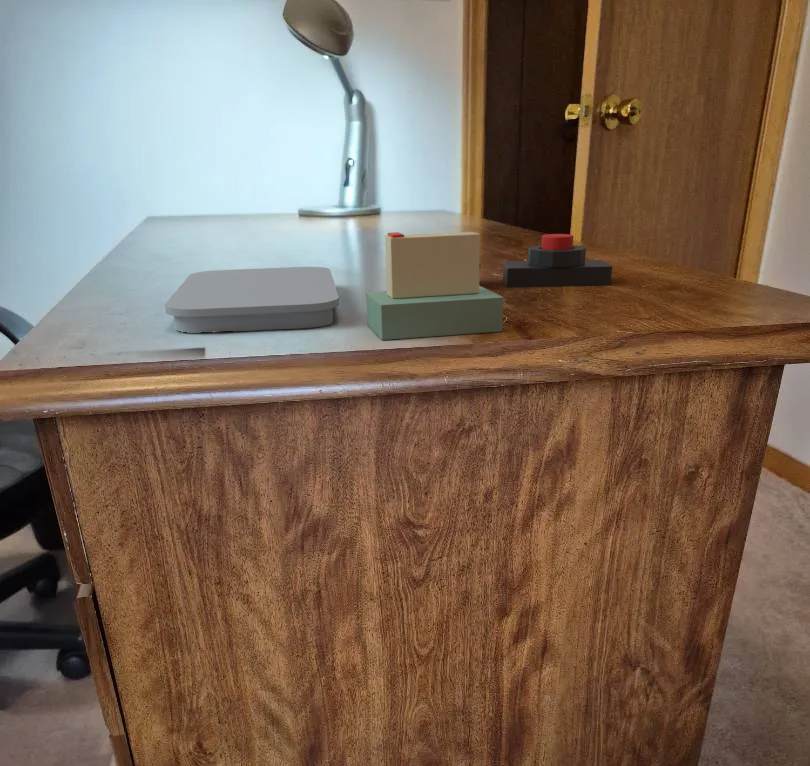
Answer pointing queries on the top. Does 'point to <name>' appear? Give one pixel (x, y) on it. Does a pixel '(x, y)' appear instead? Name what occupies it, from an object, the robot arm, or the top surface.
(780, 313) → the top surface
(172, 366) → the top surface
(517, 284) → the dark grey button housing
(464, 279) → the cream red-tipped block
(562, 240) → the bell button
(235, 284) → the grey flat slab
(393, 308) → the green rectangular block
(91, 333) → the top surface
